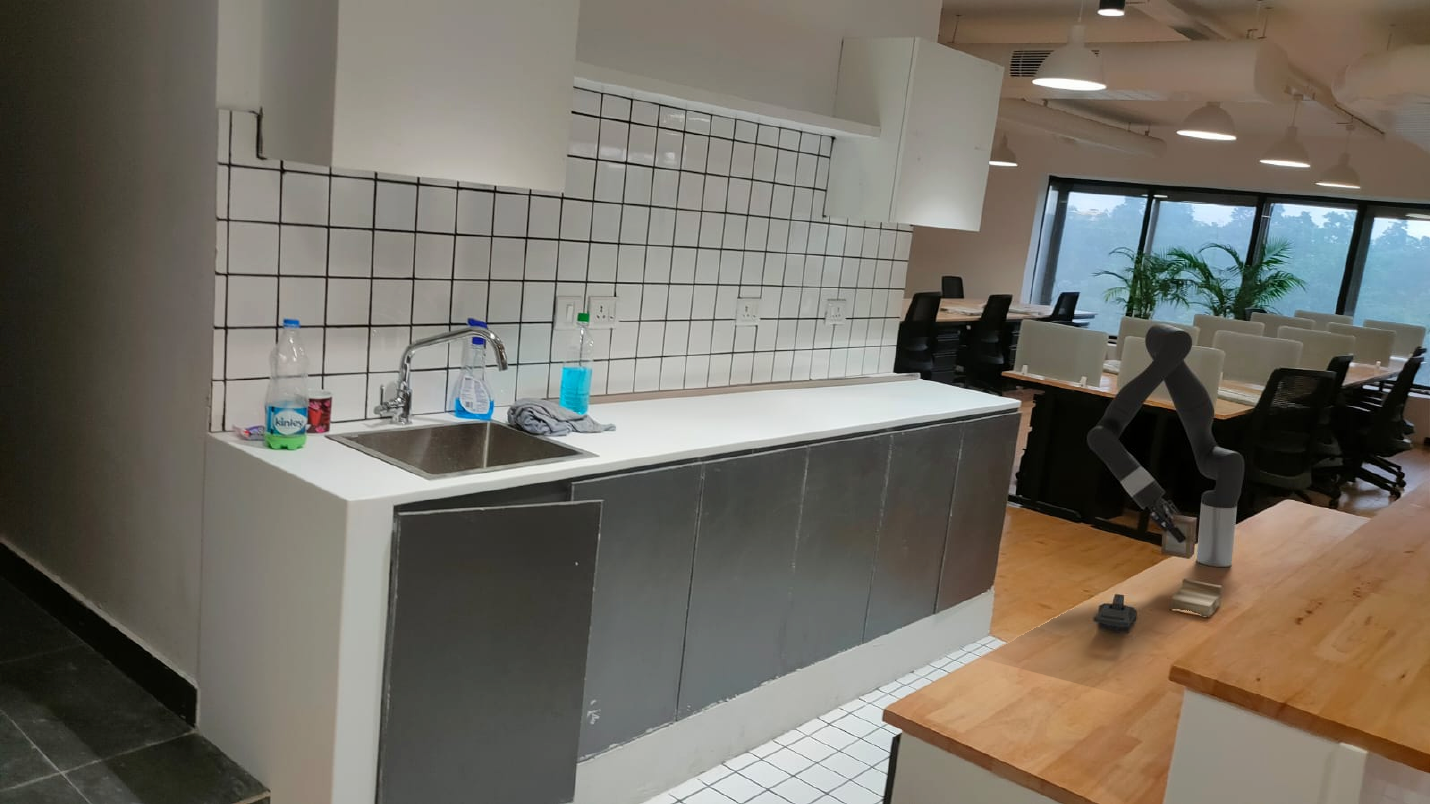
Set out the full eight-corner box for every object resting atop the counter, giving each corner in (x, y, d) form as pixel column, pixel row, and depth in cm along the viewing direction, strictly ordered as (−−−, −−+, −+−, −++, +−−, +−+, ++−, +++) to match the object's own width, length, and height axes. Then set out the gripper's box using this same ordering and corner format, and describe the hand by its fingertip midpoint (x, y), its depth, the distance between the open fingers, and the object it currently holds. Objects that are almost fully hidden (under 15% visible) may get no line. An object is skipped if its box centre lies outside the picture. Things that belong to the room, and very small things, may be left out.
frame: (1166, 549, 288) (1169, 513, 286) (1194, 554, 283) (1196, 517, 282) (1161, 554, 284) (1163, 517, 282) (1189, 559, 280) (1191, 522, 278)
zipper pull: (1090, 617, 246) (1101, 584, 268) (1088, 644, 247) (1099, 609, 269) (1131, 623, 242) (1139, 590, 264) (1129, 651, 243) (1137, 615, 265)
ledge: (1182, 597, 278) (1184, 578, 277) (1220, 604, 273) (1221, 585, 272) (1170, 610, 269) (1171, 591, 268) (1208, 618, 263) (1210, 598, 263)
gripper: (1145, 484, 279) (1190, 537, 274) (1160, 473, 290) (1204, 524, 285) (1123, 501, 283) (1167, 553, 278) (1139, 489, 294) (1182, 539, 289)
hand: (1186, 538), depth 282 cm, fingers closed on frame, 5 cm apart
